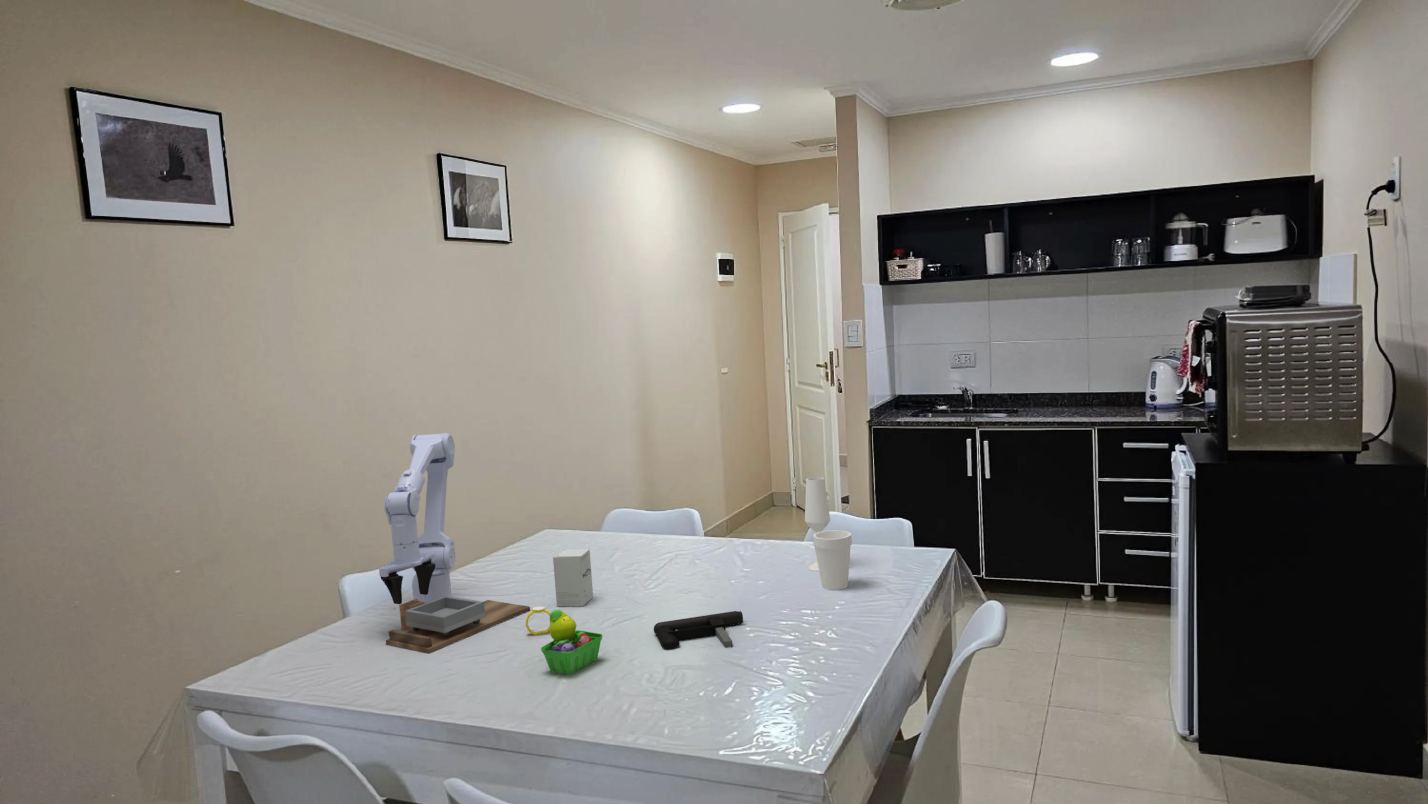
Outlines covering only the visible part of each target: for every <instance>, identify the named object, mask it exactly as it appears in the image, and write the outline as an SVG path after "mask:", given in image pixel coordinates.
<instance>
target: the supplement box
mask: <svg viewBox="0 0 1428 804" xmlns="http://www.w3.org/2000/svg"><path fill="white" fill-rule="evenodd" d="M590 552H591V551H590V548H580V549H579V548H578V549H577V548H574V549H563V550H561V551H560V552H557V554H555V555H554V556H553V557H552V560H553V561H552V562H553V563H552V564H553V573H554V574H553V575H554V586H555V587H554V588H555V600H556V601H555V602H556V606H557V607H584V606H585V605H587V603H588V602H589V601H591V600H592V599H593V598H594V590H593V576H592V575H593V574H592V564H591V563H592V562H591V553H590Z"/></svg>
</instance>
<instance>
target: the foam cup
mask: <svg viewBox="0 0 1428 804" xmlns="http://www.w3.org/2000/svg"><path fill="white" fill-rule="evenodd" d="M812 540H813V541H812V542H813V547H814V552H815V556H816V561H817V562H818V567H819V571H818V572H819V576H820V582H821V586H822V588H823V589H824V590H827V591H828V590H829V591H839V590H844V589H846V588H848V585H849V574H850V573H849V572H850V560H851V548H852V547H851V546H852V542H853V541H852V540H853V539H852V533H851V532H850V531H847V530H837V529H836V530H835V529H833V530H832V529H831V530H822V531H821V532H817V533H816V532H815V533H813V535H812Z"/></svg>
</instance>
